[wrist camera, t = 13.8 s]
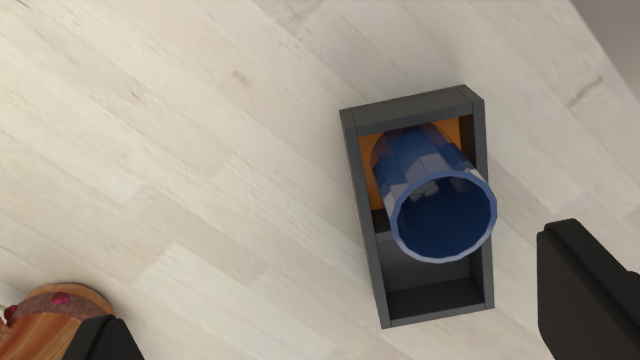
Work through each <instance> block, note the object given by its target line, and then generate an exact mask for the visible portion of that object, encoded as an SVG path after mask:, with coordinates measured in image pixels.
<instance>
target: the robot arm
mask: <svg viewBox="0 0 640 360" xmlns="http://www.w3.org/2000/svg"><path fill="white" fill-rule="evenodd" d="M537 297H538V327H539V331H540V334H541V336H542V339H543V341H544V342H545V344H546V346H547V347H548V349H549V350H550V352H551V354H552V355H553V357H554V359H555V360H640V275H639V274H638V273H636V272H633V271H627V270H626V269H625V268H624V267H623V266H622V265H621V264H620V263H619V262H618V261H617V260H616V259H615V258H614V257H613V256H612V255H611V254H610V253H609V252H608V251H607V250H606V249H605V248H604V247H603V246H602V245H601V244H600V243H599V242H598V241H597V240H596V239H595V238H594V237H593V236H592V235H591V234H590V233H589V232H588V231H587V230H586V229H585V228H584V227H583V225H582V224H581V223H580V222H579V221H577V220H576V219H574V218H571V219H566V220H561V221H556V222H551V223H547V224H545V226H544V231H541V232H538V233H537ZM61 360H145V359H144V357H143V356H142V354H141V352H140V350H139V348H138V346H137V344H136V343H135V341H134V339H133V337H132V335H131V333H130V331H129V330H128V328H127V326H126V324H125V322H124V321H123V320H122V319H119V318H118V319H117V318H116V317H115V316H114V315H113V314H106V315H101V316H96V317H91V318H86V319H85V320H83V321H82V322H81V324H80V326H79V327H78V329H77V331H76V333H75V335H74V337H73V338H72V340H71V342H70V344H69V346H68V347H67V349H66V351H65V353H64V355H63V357H62V358H61Z"/></svg>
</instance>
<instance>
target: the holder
mask: <svg viewBox="0 0 640 360" xmlns="http://www.w3.org/2000/svg"><path fill="white" fill-rule="evenodd" d="M339 112H340V118H341V123H342V128H343V133H344V139H345V144H346V149H347V155H348V160H349V165H350V170H351V176H352V181H353V186H354V191H355V197H356V202H357V207H358V212H359V218H360V223H361V228H362V234H363V239H364V244H365V249H366V255H367V260H368V265H369V270H370V276H371V281H372V286H373V292H374V297H375V301H376V306H377V310H378V314H379V319H380V323H381V327H382V329H387V328H391V327H397V326H403V325H408V324H413V323H419V322H424V321H429V320H435V319H440V318H445V317H451V316H456V315H461V314H467V313H472V312H477V311H483V310H488V309H493V308H495V305H494V286H493V266H492V246H491V234H490V236H489V237H488V238H487V239H486V240H485V241H484V242H483V243H482V244H481V246H480V247H479V248H478V249H477V250H475V251H474V252H472V253H470V254H468V255H466V256H464V257H463V258H461V259H459V260H455V261H450V262H444V263H438V264H437V263H430V262H423V261H418V260H416V259H415V258H413V257H411V256H409V255H408V254H406V253H404V252H403V251H402V250H401V249H400V247H399V246H398V244H397V243H396V242H395V240H394V239H393V237H392V234H391V231H390V228H389V225H388V222H387V219H386V216H385V213H384V210H383V207H382V204H381V201H380V198H379V195H378V193H377V190H376V187H375V184H374V181H373V178H372V173H371V169H370V156H371V152H372V149H373V146H374V144H375V143H376V141H377V140H378V138H379V137H380V136H381V135H382V134H383V133H384V132H386V131H391V130H395V129H400V128H405V127H410V126H415V125H420V124H425V123H433V124H435V125H437V126H438V127H440V128H441V129H442V130H443V131H444V132H446V133H447V134H448V136H449V137H450V138H451V139H452V141H453V142H454V143H455V144H456V145H457V147H458V148H459V149H460V150H461V152H462V153H463V154H464V155H465V157H466V158H467V159H468V160H469V161H470V163H471V164H472V165H473V166H474V168H475V169H476V170H477V171H478V173H479V174H480V175H481V176H482V178H483V179H484V180H485V181H486V182H487V184H488V166H487V146H486V126H485V107H484V100H483V99H482V98H481V97H479V96H478V95H477V94H476V93H475V92H473V91H472V90H471V89H470V88H468V87H467V86H466V85H465V84H464V85H459V86H454V87H449V88H444V89H439V90H435V91H430V92H425V93H420V94H415V95H411V96H406V97H401V98H396V99H391V100H386V101H382V102H377V103H372V104H367V105H362V106H357V107H353V108H348V109H343V110H339Z"/></svg>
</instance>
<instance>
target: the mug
mask: <svg viewBox="0 0 640 360" xmlns="http://www.w3.org/2000/svg"><path fill="white" fill-rule="evenodd" d="M106 314H113V315H114V316H115V314H114V312H113V310H112V307H111V306H110V304H109V303H108V302H107V301H106V300H105V299H104V298H102V297H101V296H100V295H99V294H98V293H97V292H96V291H94V290H91V289H89V288H87V287H85V286H81V285H77V284H70V283H63V284H54V285H46V286H41V287H37V288H36V289H34V290H33V291H31V292H30V294H29V295H28V296H27V297H26V298H25V300H24V301H23V302H21V303H19V304H18V305H11V306H10V307H9V308H7V309H5V310H4V318H5V319H6V320H7V323H6V325H5V323H4V322H3V320H2V319H1V317H0V360H61V358H62V357H63V355H64V353H65V351H66V349H67V347H68V346H69V344H70V342H71V340H72V338H73V337H74V335H75V333H76V331H77V329H78V327H79V326H80V324H81V322H82V321H83V320H85V319H86V318H91V317H96V316H101V315H106Z"/></svg>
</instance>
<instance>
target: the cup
mask: <svg viewBox="0 0 640 360" xmlns="http://www.w3.org/2000/svg"><path fill="white" fill-rule="evenodd" d="M370 169H371V173H372V178H373V181H374V184H375V187H376V190H377V193H378V195H379V198H380V201H381V204H382V207H383V210H384V213H385V216H386V219H387V222H388V225H389V228H390V231H391V234H392V237H393V239H394V240H395V242H396V243H397V244H398V246H399V247H400V249H401V250H402V251H403V252H404V253H406V254H408V255H409V256H411V257H413V258H415V259H416V260H418V261H423V262H430V263H437V264H438V263H444V262H450V261H455V260H459V259H461V258H463V257H464V256H466V255H468V254H470V253H472V252H474V251H475V250H477V249H478V248H479V247H480V246H481V244H482V243H483V242H484V241H485V240H486V239H487V238H488V237H489V236H490V234H491V232H492V229H493V227H494V224H495V222H496V220H497V200H496V197H495V196H494V194H493V192H492V190H491V189H490V187H489V185H488V184H487V182H486V181H485V180H484V179H483V178H482V176H481V175H480V174H479V173H478V171H477V170H476V169H475V168H474V166H473V165H472V164H471V163H470V161H469V160H468V159H467V158H466V157H465V155H464V154H463V153H462V152H461V150H460V149H459V148H458V147H457V145H456V144H455V143H454V142H453V141H452V139H451V138H450V137H449V136H448V134H447V133H446V132H444V131H443V130H442V129H441V128H440V127H438V126H437V125H435V124H433V123H425V124H420V125H415V126H410V127H405V128H400V129H395V130H391V131H386V132H384V133H383V134H382V135H381V136H380V137H379V138H378V140H377V141H376V143H375V144H374V146H373V149H372V152H371V156H370Z"/></svg>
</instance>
